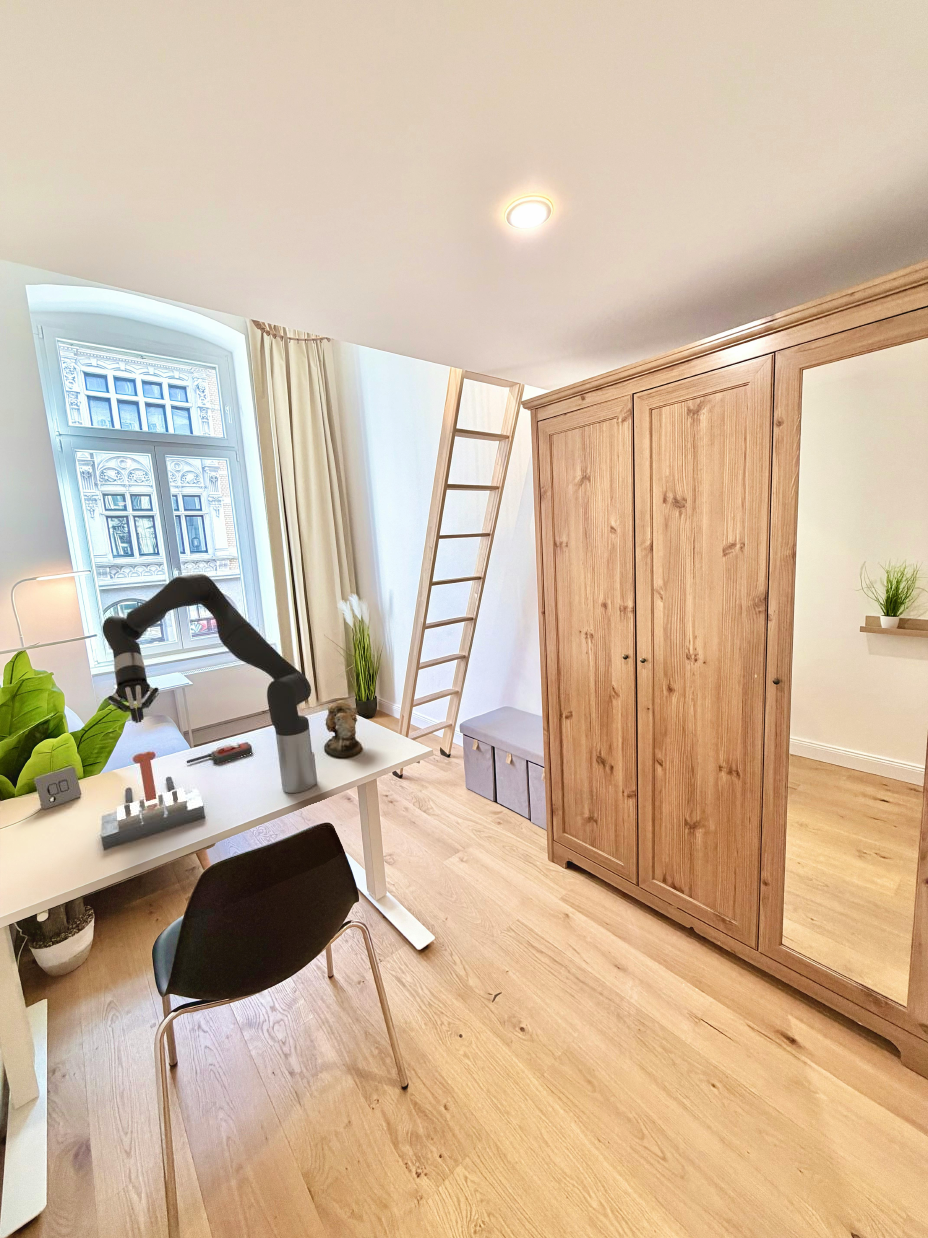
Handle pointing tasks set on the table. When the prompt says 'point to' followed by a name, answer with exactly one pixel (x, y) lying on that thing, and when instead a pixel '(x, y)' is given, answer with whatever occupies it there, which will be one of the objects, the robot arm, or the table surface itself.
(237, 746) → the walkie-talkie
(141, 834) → the breaker panel
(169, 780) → the grey upright pegs
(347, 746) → the brown figurine
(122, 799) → the table surface
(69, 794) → the electrical switch
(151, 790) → the breaker lever
